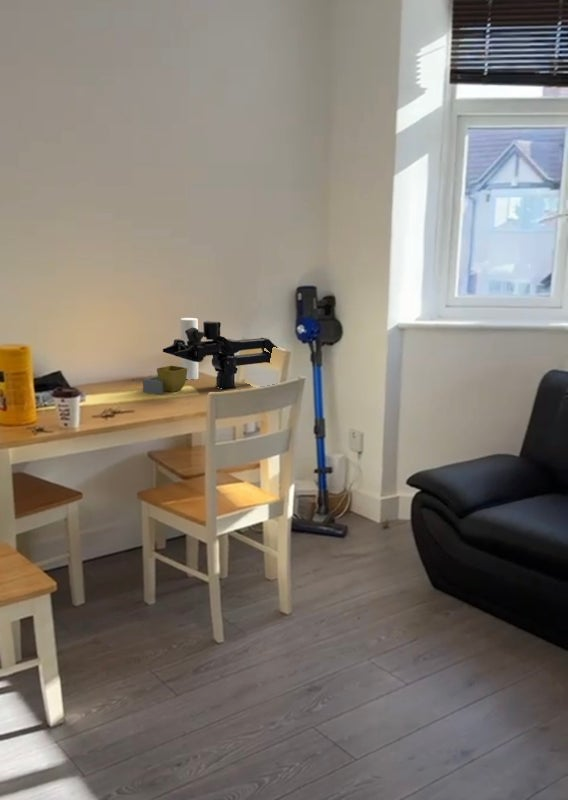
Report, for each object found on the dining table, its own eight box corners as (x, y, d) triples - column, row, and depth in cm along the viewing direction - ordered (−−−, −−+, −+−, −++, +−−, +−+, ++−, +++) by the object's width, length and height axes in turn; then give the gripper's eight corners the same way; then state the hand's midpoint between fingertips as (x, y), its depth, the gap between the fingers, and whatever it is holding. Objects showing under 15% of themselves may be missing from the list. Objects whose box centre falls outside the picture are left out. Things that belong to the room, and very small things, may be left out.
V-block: (158, 387, 307) (158, 375, 305) (163, 394, 295) (163, 381, 294) (141, 388, 304) (140, 376, 303) (145, 395, 293) (145, 382, 292)
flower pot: (188, 390, 304) (188, 367, 302) (173, 394, 296) (173, 371, 294) (171, 387, 308) (170, 365, 306) (156, 391, 301) (156, 368, 299)
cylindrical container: (179, 379, 323) (178, 319, 317) (184, 375, 330) (183, 317, 324) (195, 380, 322) (195, 320, 316) (200, 376, 329) (199, 318, 323)
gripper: (192, 325, 305) (156, 328, 296) (216, 331, 290) (180, 334, 281) (192, 352, 307) (157, 356, 299) (217, 360, 293) (180, 364, 284)
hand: (168, 352), depth 290 cm, fingers open, 9 cm apart
